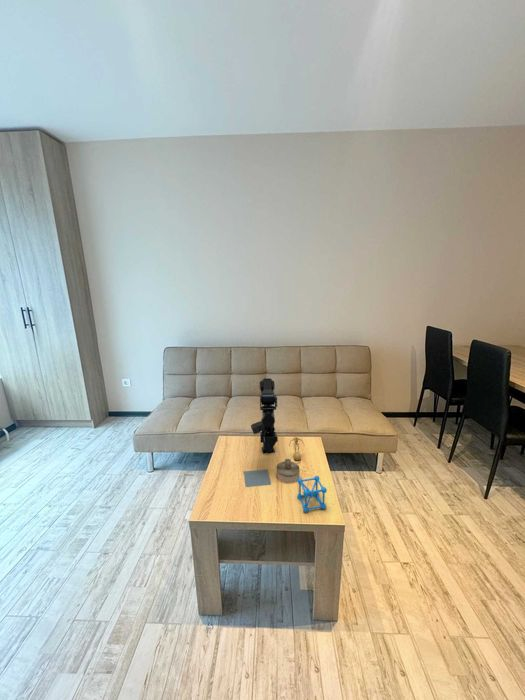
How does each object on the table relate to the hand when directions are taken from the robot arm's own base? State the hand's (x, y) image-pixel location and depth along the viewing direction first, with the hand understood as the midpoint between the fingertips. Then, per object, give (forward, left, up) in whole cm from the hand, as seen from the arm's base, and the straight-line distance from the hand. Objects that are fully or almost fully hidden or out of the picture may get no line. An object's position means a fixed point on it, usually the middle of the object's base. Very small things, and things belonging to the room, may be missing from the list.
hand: (268, 446), depth 150 cm
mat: (+8, -7, -12) cm, 16 cm away
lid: (+9, +8, -8) cm, 14 cm away
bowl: (+9, +8, -12) cm, 17 cm away
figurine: (-6, +16, -12) cm, 21 cm away
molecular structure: (+28, +14, -12) cm, 34 cm away
